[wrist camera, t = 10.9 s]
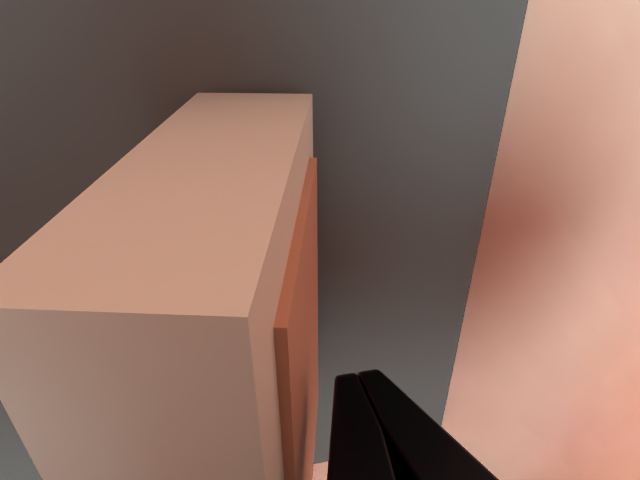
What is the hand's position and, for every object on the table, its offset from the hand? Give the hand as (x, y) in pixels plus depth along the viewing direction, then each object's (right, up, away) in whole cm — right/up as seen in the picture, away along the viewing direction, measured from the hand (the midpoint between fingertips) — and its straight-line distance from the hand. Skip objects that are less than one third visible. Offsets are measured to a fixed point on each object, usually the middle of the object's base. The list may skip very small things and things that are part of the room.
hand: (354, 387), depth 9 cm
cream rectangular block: (-2, +2, +3) cm, 4 cm away
